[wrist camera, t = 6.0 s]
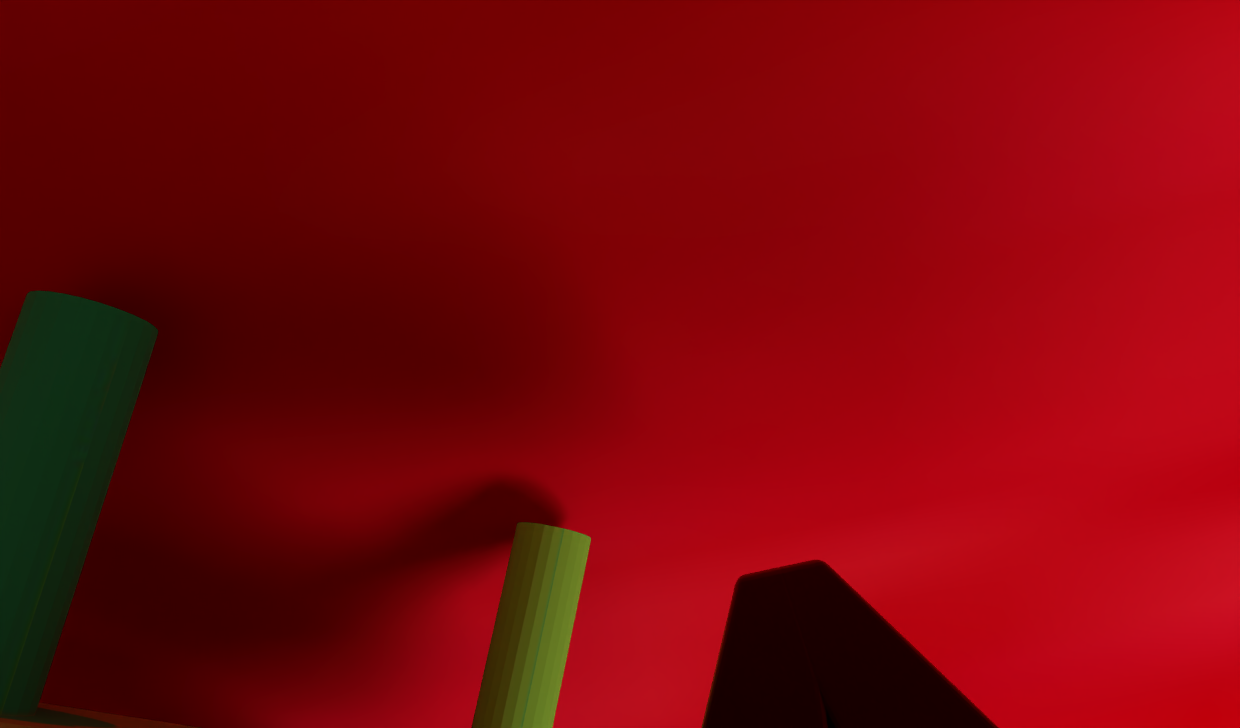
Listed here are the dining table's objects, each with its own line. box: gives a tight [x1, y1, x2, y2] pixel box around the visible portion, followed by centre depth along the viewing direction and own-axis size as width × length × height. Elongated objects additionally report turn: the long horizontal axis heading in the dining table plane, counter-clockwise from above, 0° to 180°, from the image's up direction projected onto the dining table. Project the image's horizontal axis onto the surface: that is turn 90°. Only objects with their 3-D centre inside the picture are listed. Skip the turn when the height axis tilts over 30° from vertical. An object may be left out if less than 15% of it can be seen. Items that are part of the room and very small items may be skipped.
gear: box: [0, 291, 591, 728], centre depth 9 cm, size 11×6×10 cm
